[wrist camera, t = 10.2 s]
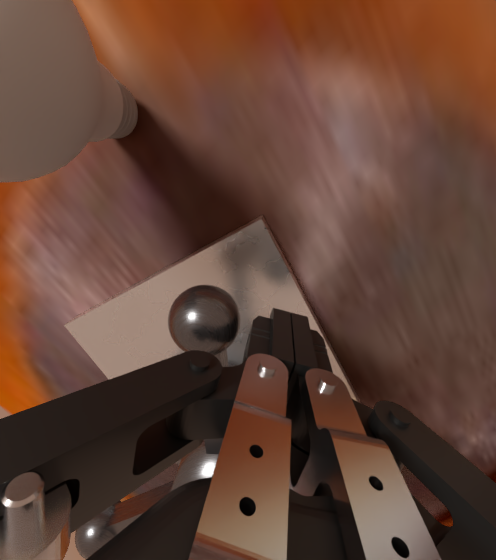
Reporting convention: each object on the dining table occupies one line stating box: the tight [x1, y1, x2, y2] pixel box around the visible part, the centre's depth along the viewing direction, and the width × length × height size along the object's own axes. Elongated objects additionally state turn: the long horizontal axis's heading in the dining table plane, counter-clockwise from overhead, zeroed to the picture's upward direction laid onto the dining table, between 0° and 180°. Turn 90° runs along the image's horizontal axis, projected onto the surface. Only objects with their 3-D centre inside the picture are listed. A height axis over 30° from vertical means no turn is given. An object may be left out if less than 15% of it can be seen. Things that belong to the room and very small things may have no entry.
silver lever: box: [75, 285, 240, 559], centre depth 15 cm, size 18×16×6 cm
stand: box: [64, 215, 362, 404], centre depth 20 cm, size 20×14×2 cm
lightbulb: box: [0, 0, 138, 182], centre depth 10 cm, size 6×6×11 cm
